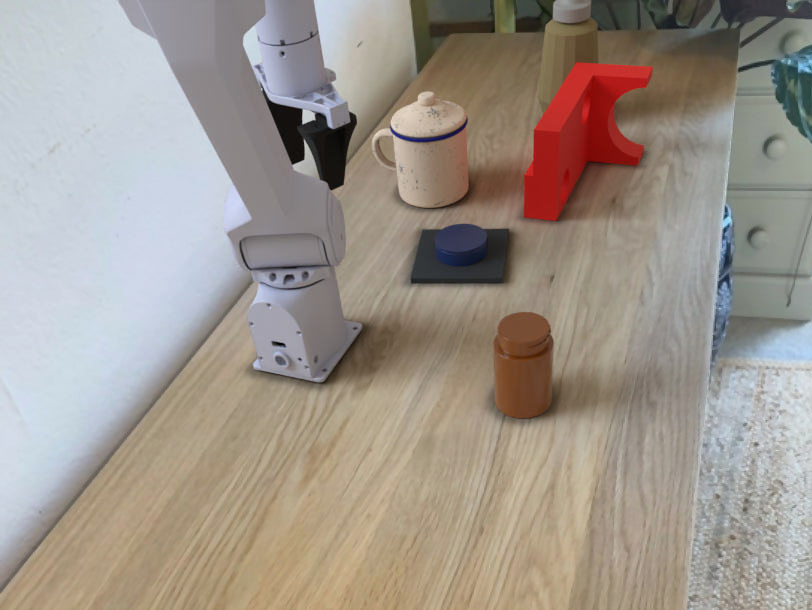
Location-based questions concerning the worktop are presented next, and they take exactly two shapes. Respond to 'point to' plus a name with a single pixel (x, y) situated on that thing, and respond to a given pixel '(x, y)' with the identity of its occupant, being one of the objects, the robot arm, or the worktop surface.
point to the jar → (523, 365)
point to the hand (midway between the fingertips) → (314, 174)
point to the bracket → (579, 134)
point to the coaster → (480, 272)
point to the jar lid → (461, 244)
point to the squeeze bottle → (566, 46)
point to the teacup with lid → (428, 151)
